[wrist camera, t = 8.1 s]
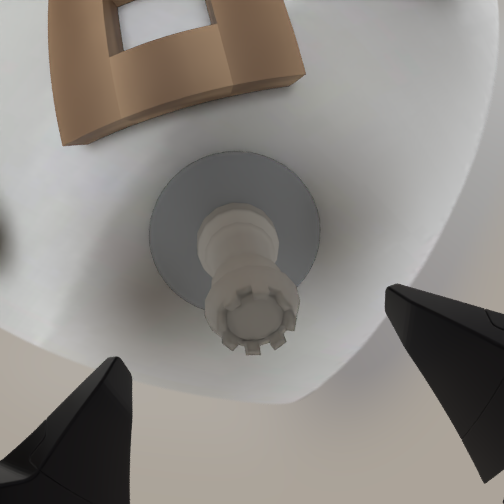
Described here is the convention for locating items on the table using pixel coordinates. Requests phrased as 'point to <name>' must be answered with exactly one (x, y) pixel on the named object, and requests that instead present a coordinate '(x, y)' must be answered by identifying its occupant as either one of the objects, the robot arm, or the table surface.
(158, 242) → the coaster
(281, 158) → the table surface
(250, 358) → the table surface
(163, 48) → the pocket block
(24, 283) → the table surface
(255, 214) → the rook chess piece
